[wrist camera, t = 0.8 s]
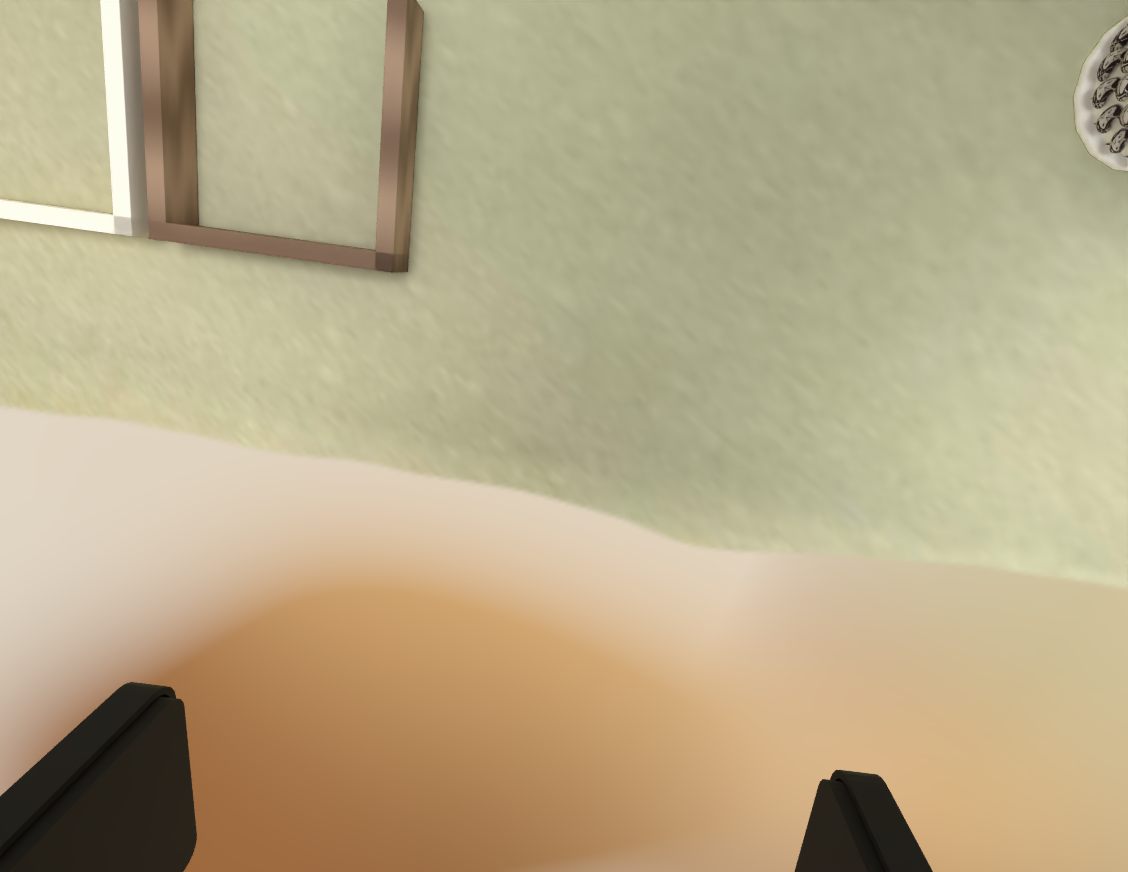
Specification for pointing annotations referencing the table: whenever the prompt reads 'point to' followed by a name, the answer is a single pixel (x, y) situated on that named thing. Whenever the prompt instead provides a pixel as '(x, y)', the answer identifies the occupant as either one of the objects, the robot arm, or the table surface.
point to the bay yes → (111, 137)
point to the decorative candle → (1105, 99)
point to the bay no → (176, 158)
